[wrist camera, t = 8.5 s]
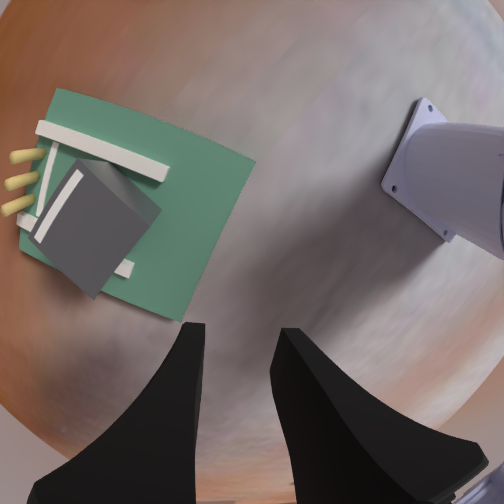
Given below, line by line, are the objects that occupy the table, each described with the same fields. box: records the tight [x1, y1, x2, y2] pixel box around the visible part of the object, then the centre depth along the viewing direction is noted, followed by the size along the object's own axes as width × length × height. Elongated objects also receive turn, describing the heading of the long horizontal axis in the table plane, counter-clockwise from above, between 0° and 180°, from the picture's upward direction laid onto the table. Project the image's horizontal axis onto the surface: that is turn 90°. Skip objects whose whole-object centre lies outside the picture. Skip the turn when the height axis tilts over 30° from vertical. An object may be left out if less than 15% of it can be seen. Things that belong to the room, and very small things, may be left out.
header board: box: [1, 88, 256, 322], centre depth 13 cm, size 13×11×4 cm
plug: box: [28, 158, 162, 300], centre depth 11 cm, size 4×4×5 cm
